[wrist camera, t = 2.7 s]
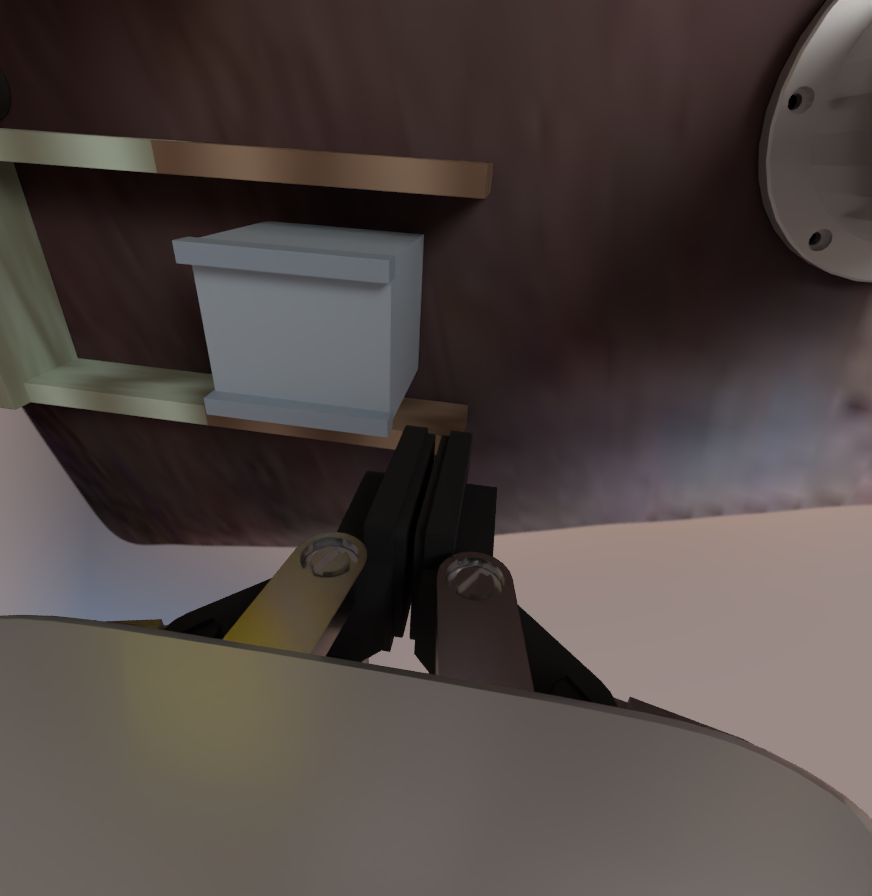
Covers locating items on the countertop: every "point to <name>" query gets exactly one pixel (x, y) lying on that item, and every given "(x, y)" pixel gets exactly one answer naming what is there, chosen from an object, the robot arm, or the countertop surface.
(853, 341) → the countertop surface
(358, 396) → the crate
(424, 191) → the bay
